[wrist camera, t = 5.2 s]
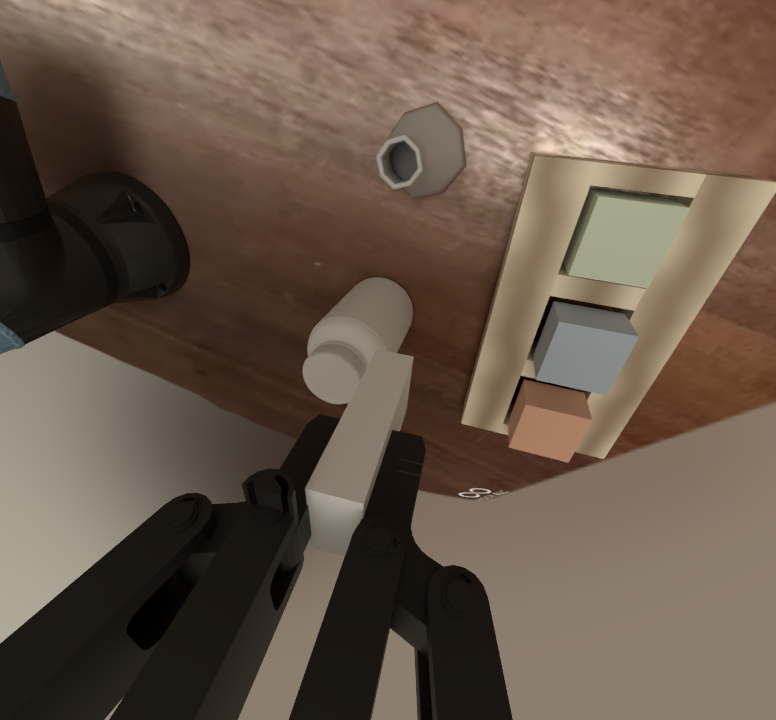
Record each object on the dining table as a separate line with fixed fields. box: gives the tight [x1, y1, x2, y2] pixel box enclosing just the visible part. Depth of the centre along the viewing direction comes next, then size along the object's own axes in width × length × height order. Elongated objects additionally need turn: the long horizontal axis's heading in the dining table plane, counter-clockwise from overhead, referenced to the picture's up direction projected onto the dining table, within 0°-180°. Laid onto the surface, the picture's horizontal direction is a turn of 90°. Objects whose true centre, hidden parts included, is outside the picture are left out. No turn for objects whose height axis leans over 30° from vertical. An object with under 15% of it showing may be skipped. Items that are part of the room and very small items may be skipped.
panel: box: [461, 152, 776, 459], centre depth 35 cm, size 16×28×4 cm, turn 175°
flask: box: [376, 102, 466, 199], centre depth 28 cm, size 7×7×10 cm
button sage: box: [563, 188, 690, 288], centre depth 29 cm, size 6×6×4 cm
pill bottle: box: [302, 277, 413, 404], centre depth 36 cm, size 8×8×15 cm
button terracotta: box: [508, 379, 592, 463], centre depth 37 cm, size 6×6×4 cm
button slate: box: [533, 301, 639, 395], centre depth 32 cm, size 6×6×4 cm
